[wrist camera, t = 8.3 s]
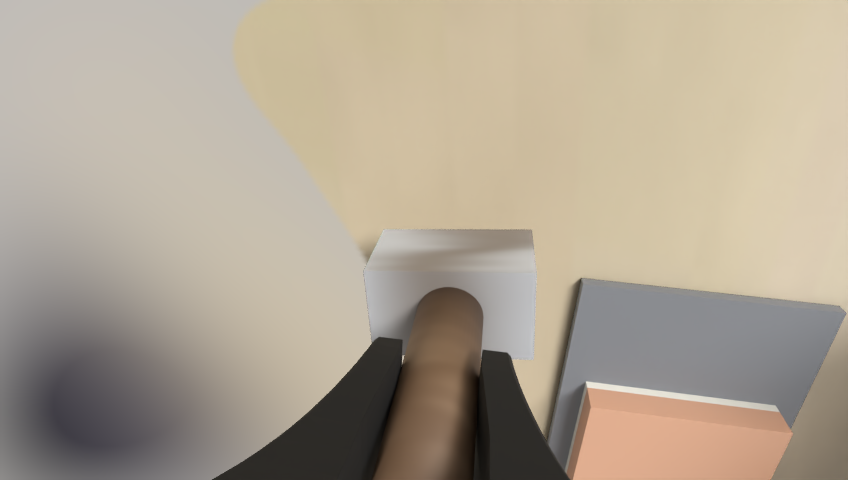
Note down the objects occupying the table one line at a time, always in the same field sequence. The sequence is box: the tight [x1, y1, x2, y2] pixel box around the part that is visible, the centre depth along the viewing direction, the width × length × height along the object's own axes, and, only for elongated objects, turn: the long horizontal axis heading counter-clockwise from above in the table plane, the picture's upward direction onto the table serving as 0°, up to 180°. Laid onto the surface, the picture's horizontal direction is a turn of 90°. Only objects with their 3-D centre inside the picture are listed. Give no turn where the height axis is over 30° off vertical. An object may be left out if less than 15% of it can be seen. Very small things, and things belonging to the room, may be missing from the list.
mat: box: [547, 278, 846, 471], centre depth 25 cm, size 10×15×1 cm, turn 177°
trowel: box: [363, 229, 537, 480], centre depth 14 cm, size 5×3×10 cm, turn 93°
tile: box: [565, 381, 793, 480], centre depth 25 cm, size 8×2×8 cm
